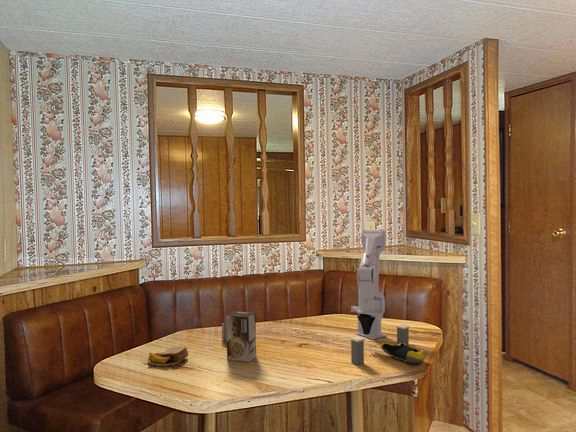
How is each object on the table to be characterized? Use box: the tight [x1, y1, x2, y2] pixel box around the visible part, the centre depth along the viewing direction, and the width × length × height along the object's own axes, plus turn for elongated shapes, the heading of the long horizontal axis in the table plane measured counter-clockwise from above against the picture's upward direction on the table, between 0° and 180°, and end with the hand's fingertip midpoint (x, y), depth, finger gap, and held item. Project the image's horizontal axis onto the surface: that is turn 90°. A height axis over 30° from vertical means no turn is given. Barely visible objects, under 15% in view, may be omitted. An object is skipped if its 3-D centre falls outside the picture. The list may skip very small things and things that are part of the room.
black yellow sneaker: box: [380, 341, 425, 364], centre depth 151 cm, size 15×6×10 cm
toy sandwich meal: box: [147, 345, 189, 367], centre depth 153 cm, size 12×14×5 cm
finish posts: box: [350, 323, 410, 366], centre depth 156 cm, size 3×27×9 cm, turn 126°
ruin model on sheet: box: [221, 322, 227, 343], centre depth 177 cm, size 11×3×10 cm, turn 115°
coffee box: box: [225, 310, 257, 363], centre depth 155 cm, size 9×6×16 cm
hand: (366, 333), depth 164 cm, fingers closed
